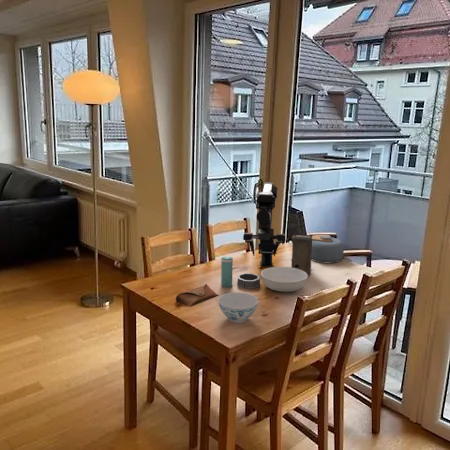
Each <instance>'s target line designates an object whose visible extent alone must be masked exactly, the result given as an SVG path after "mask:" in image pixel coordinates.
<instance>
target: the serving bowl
mask: <svg viewBox="0 0 450 450" xmlns="http://www.w3.org/2000/svg"><path fill="white" fill-rule="evenodd" d="M291 267H292V266H291ZM291 267H290V266H289V267H288V266H270V267H267V268H264V269H263V270H261V272H260V279H261V281H262V282H263V284H264V285H265V286H266V287H267V288H269V289H270V290H273V291H276V292H281V293H282V292H284V293H287V292H295V291H298V290H301V289H302V288H303V287H304V286H305V285H306V284H307V281H308V276H309V275H307V273H306V272H304V271H302V270H300V269H296V268H291Z"/></svg>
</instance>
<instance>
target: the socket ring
mask: <svg viewBox="0 0 450 450" xmlns="http://www.w3.org/2000/svg"><path fill="white" fill-rule="evenodd" d="M260 281H261V275H259V274H256V273H251V272H250V273H248V272H243V273H240V274H238V275H237V283H236V285H237V286H238V287H240V288H241V289H256V288H258V287H260V285H261V284H260Z"/></svg>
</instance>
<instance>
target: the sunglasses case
mask: <svg viewBox="0 0 450 450" xmlns="http://www.w3.org/2000/svg"><path fill="white" fill-rule="evenodd" d="M218 296H219V294H217V293H216V292H215V290H213V289H211V287H210V286H209V285H208V284H207V283H206V284H204V285H201V286H198V287H195V288H192V289H189V290H188V291H185V292H181V293H178V294H177V295H176V297H175V301H176V303H178V302H179V304H180V303H181V305H183V304H184V306H185V305H186V307H188V306H189V308H190V307H193V306H195V305H197V304H199V303H202V302H204V301H207V300H209V298H210V299H212V298H214V297H215V298H216V297H218Z"/></svg>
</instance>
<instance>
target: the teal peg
mask: <svg viewBox="0 0 450 450" xmlns="http://www.w3.org/2000/svg"><path fill="white" fill-rule="evenodd" d="M220 262H221V265H220V267H221V269H220V270H221V273H220V276H221V279H220V281H221V283H220V285H221V287H223V288H232V287H233V263H234V257H232V256H222V257H221V260H220Z"/></svg>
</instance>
